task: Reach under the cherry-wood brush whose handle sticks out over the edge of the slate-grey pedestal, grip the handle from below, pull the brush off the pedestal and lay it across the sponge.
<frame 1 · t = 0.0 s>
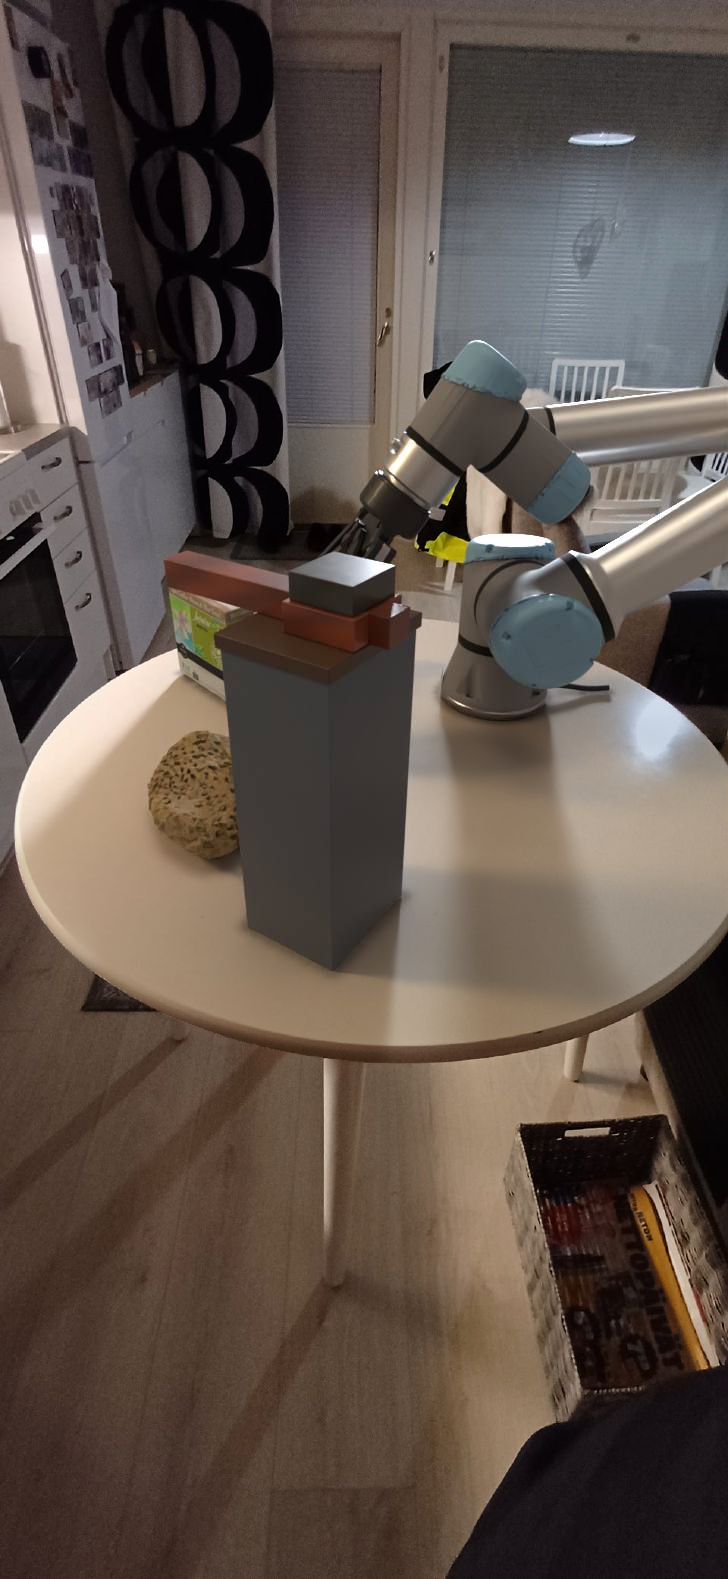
hand: (295, 642, 92), 15 cm above the table, tool tilted 35°, fingers open, 13 cm apart
coffee jar: (298, 752, 101), on the table
tea box: (233, 682, 117), on the table
sponge: (207, 816, 89), on the table
brush: (280, 610, 61), point 30 cm above the table, touching pedestal
pedestal: (326, 911, 76), on the table
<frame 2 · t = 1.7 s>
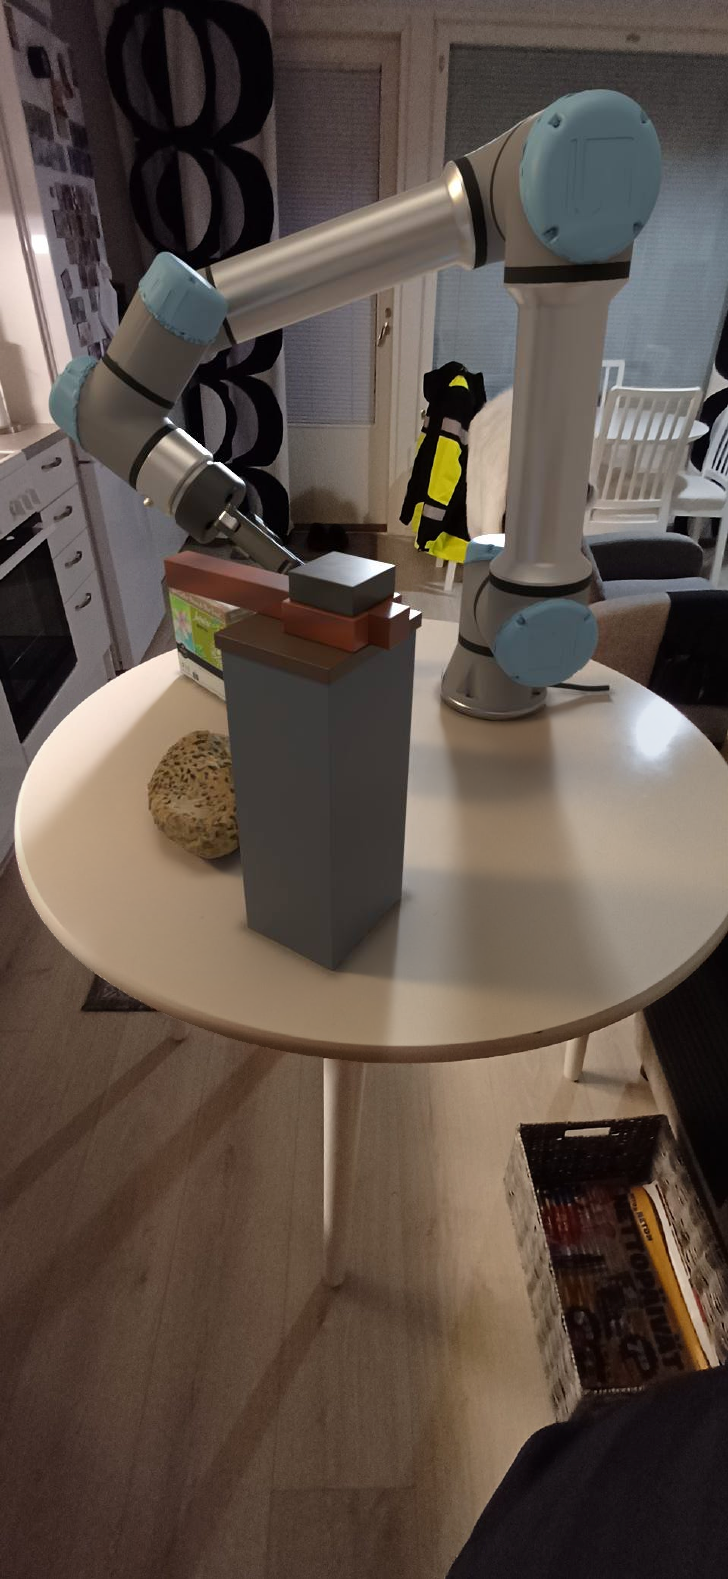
hand: (359, 625, 81), 21 cm above the table, tool tilted 55°, fingers open, 13 cm apart
coffee jar: (298, 743, 100), point 1 cm above the table
everything else where it was.
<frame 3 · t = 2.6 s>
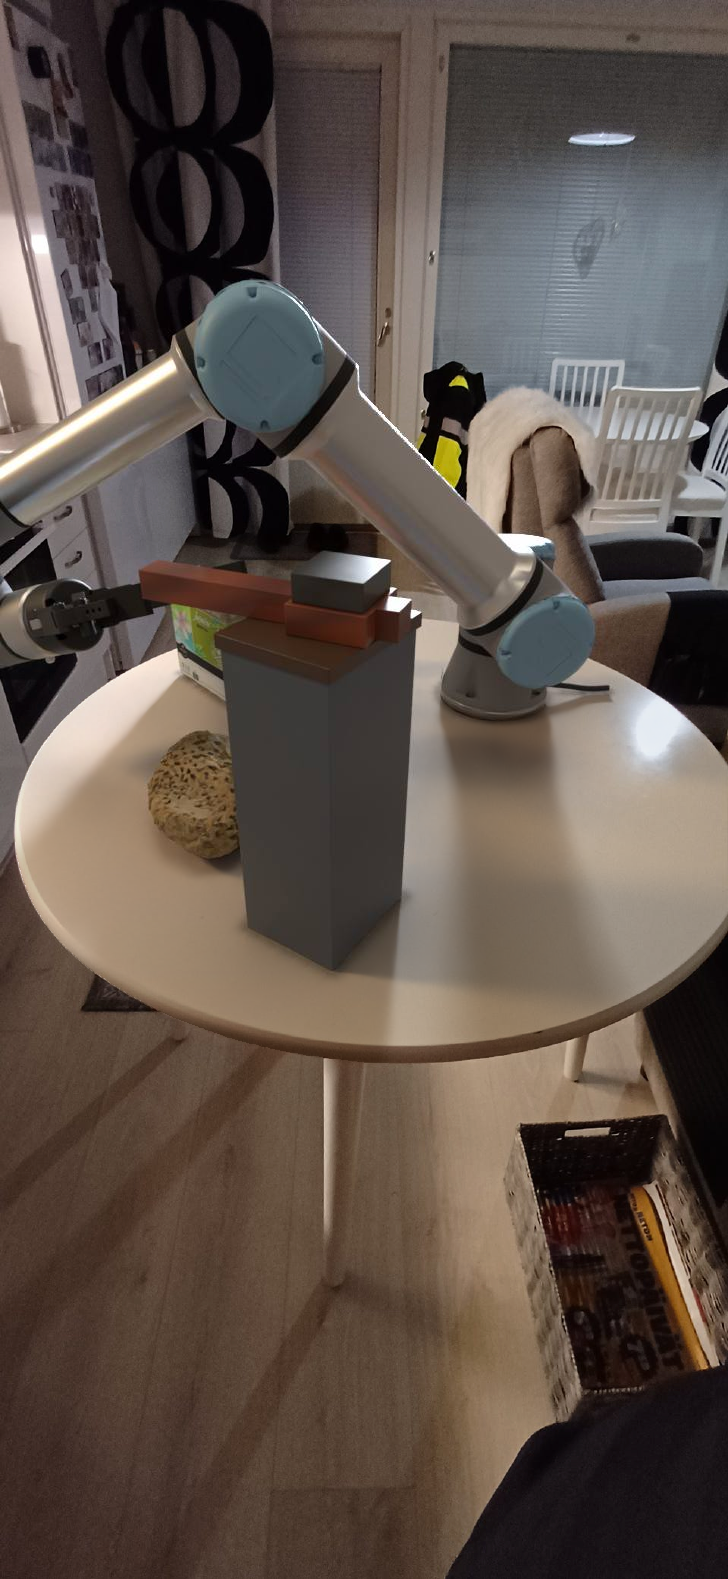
hand: (200, 585, 71), 28 cm above the table, tool pointing upward, fingers open, 13 cm apart
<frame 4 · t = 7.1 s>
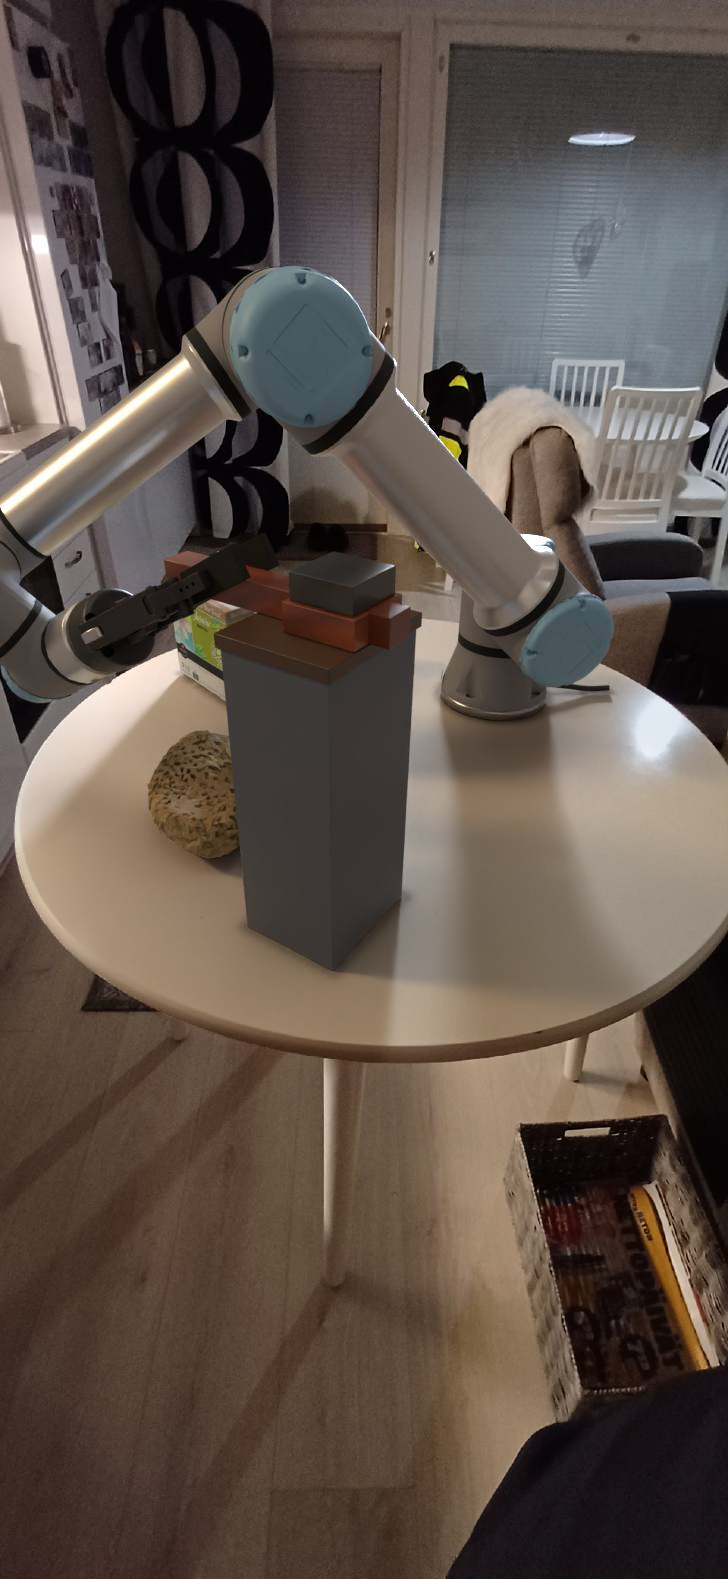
hand: (254, 555, 60), 34 cm above the table, tool pointing upward, fingers closed on brush, 3 cm apart
brush: (280, 610, 61), point 30 cm above the table, touching gripper, pedestal
when the fingers open (9 cm above the table, at t = 16.8 s): brush stays where it is, resting on sponge.
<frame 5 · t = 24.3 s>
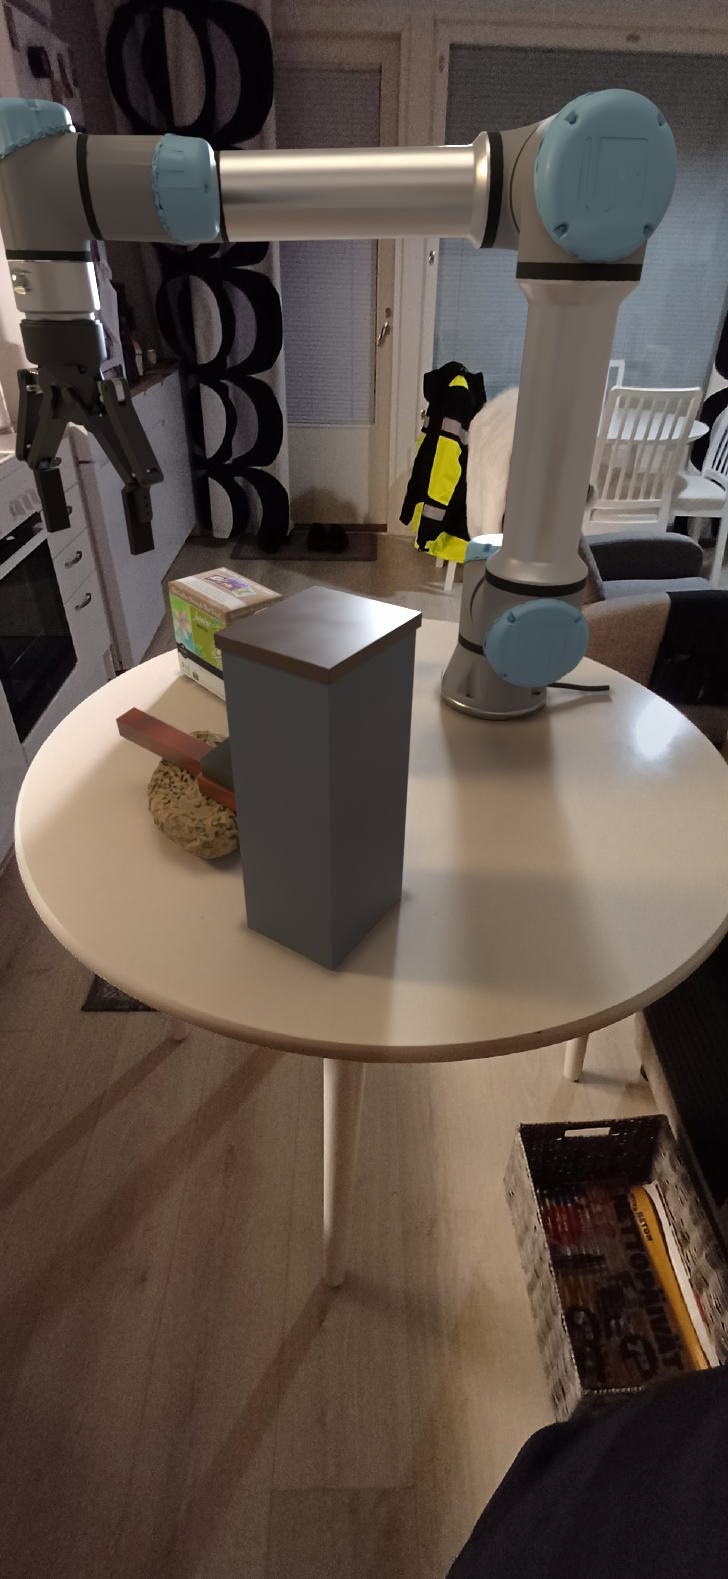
hand: (99, 540, 86), 27 cm above the table, tool pointing down, fingers open, 13 cm apart
sponge: (207, 816, 89), on the table, touching brush
brush: (200, 766, 85), point 7 cm above the table, tilted 9°, touching sponge
at the end: brush inside the target area on the sponge (0.2 cm from its centre), point 7.0 cm above the sponge's base; the gripper is holding nothing; brush moved 28.8 cm from its start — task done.
